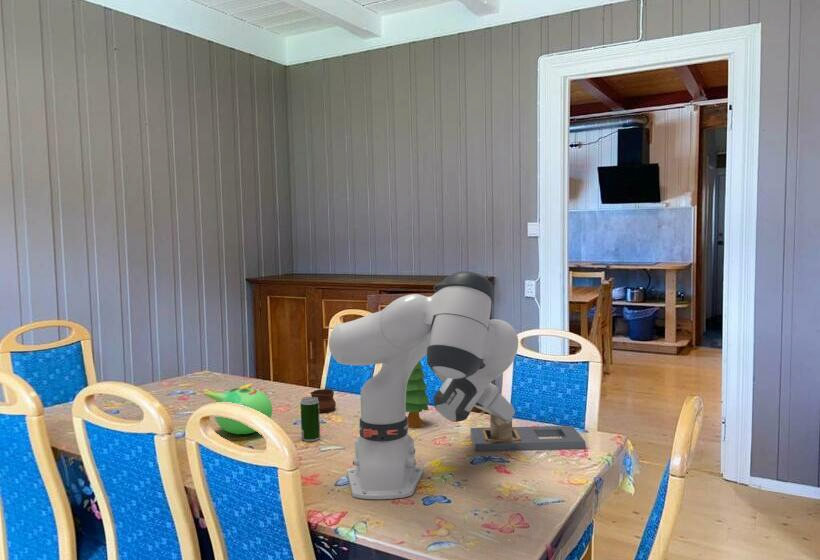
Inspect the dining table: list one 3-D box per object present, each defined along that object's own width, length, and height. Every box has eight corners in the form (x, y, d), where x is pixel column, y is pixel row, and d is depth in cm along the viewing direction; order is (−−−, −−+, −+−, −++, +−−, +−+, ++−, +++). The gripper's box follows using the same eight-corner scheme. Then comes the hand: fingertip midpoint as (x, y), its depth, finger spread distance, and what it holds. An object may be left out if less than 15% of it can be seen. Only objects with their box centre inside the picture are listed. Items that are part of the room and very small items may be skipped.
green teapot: (283, 429, 194) (282, 382, 193) (243, 446, 180) (241, 395, 179) (241, 421, 203) (239, 377, 202) (200, 436, 189) (198, 388, 188)
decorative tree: (395, 422, 198) (393, 328, 196) (422, 418, 203) (419, 326, 201) (409, 431, 190) (407, 332, 188) (436, 426, 194) (434, 329, 192)
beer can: (306, 443, 181) (304, 402, 180) (298, 438, 185) (297, 398, 184) (323, 439, 184) (321, 399, 183) (315, 434, 188) (314, 395, 187)
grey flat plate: (585, 448, 171) (585, 440, 171) (475, 451, 171) (475, 443, 171) (572, 432, 185) (572, 425, 185) (470, 434, 185) (470, 427, 185)
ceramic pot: (336, 419, 203) (335, 398, 203) (287, 417, 209) (286, 396, 208) (357, 406, 221) (356, 386, 220) (311, 404, 226) (310, 384, 225)
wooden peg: (512, 438, 177) (511, 404, 176) (499, 441, 175) (498, 406, 174) (503, 434, 181) (503, 400, 180) (490, 437, 179) (490, 402, 178)
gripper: (447, 389, 182) (476, 417, 186) (485, 406, 163) (517, 437, 168) (460, 372, 183) (489, 401, 188) (499, 387, 165) (530, 418, 170)
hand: (502, 418), depth 178 cm, fingers closed on wooden peg, 4 cm apart
